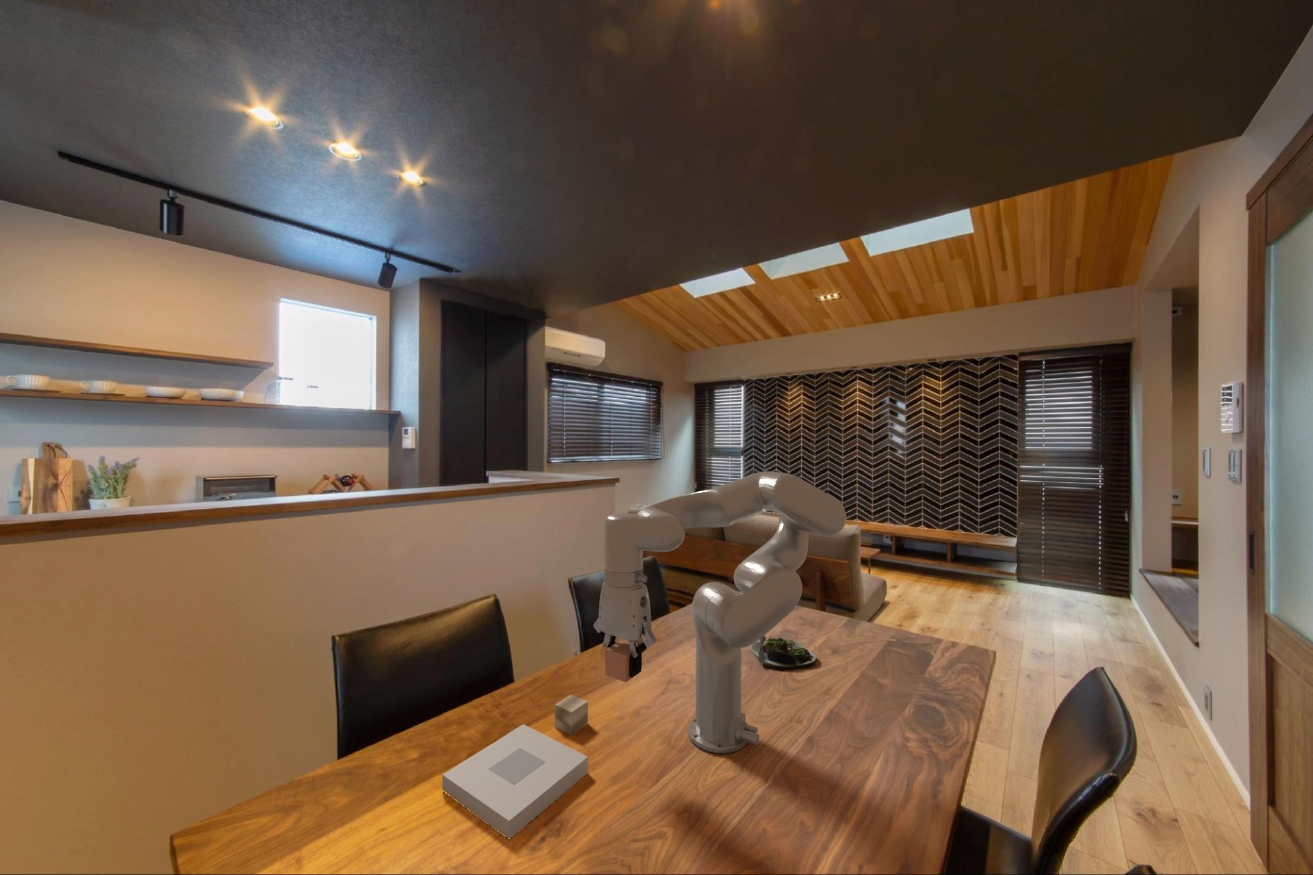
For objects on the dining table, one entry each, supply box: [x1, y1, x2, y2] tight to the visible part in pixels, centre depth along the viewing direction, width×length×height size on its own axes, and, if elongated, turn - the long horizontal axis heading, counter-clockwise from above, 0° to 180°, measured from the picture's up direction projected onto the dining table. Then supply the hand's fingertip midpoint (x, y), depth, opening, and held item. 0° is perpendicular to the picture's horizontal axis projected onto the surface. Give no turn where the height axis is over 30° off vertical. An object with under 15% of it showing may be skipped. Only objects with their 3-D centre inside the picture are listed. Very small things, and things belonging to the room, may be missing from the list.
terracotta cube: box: [604, 640, 638, 683], centre depth 92 cm, size 5×5×5 cm
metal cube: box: [554, 694, 589, 736], centre depth 103 cm, size 5×5×5 cm
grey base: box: [441, 724, 589, 839], centre depth 86 cm, size 18×18×3 cm
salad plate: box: [750, 635, 817, 671], centre depth 138 cm, size 19×18×5 cm
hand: (623, 669), depth 92 cm, fingers closed on terracotta cube, 5 cm apart
